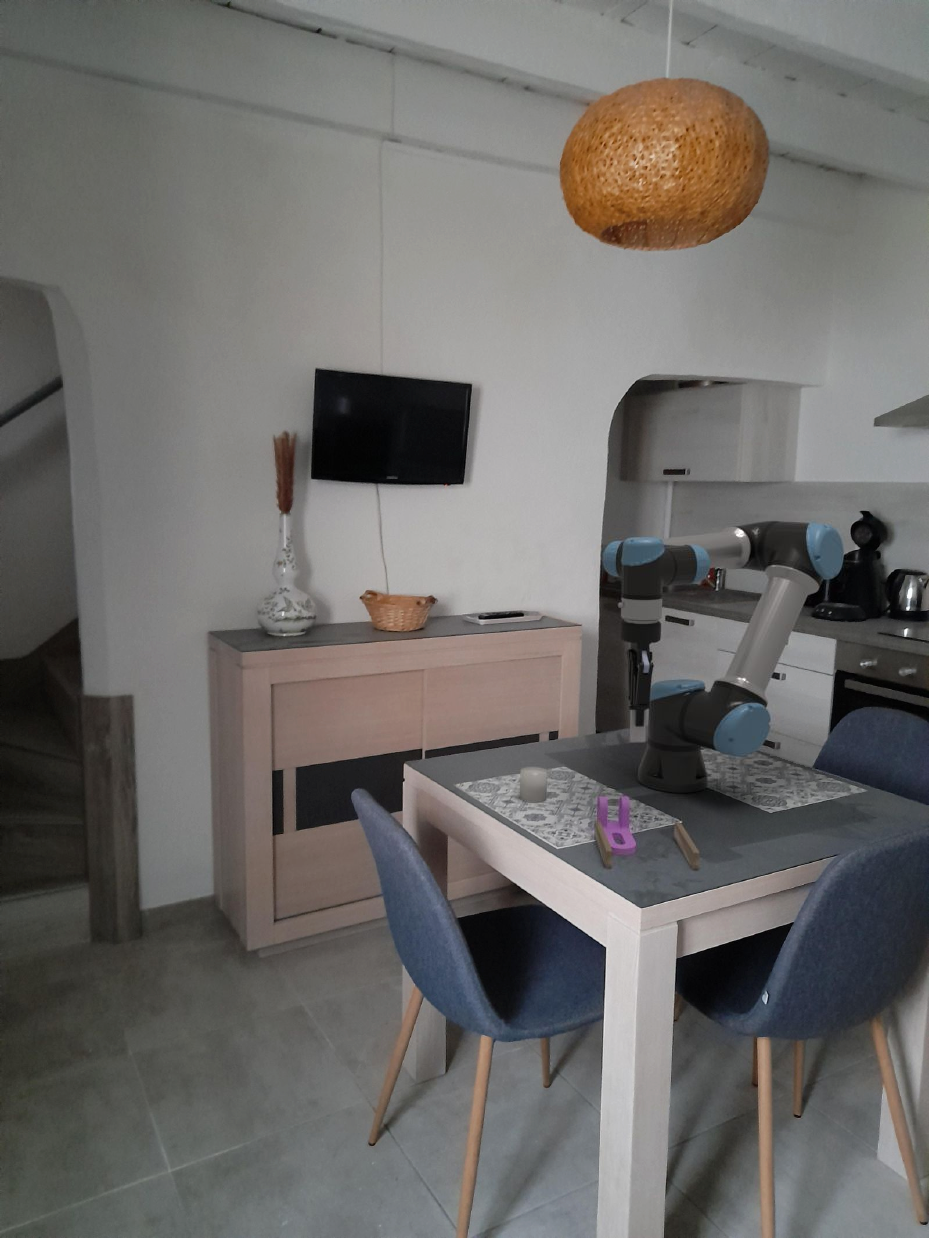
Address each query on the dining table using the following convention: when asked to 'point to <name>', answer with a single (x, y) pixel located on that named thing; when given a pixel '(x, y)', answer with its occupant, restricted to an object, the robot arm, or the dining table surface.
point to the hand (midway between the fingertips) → (637, 740)
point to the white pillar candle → (533, 784)
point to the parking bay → (679, 835)
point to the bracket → (617, 826)
